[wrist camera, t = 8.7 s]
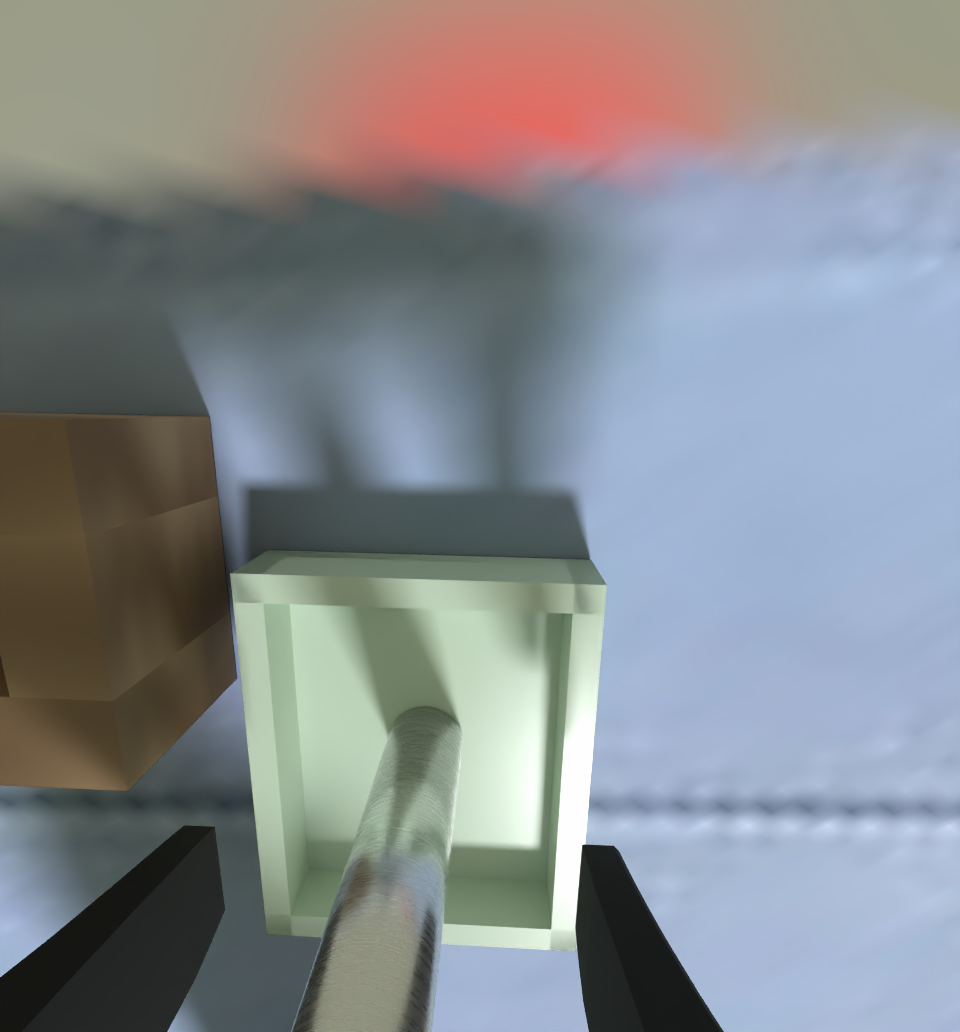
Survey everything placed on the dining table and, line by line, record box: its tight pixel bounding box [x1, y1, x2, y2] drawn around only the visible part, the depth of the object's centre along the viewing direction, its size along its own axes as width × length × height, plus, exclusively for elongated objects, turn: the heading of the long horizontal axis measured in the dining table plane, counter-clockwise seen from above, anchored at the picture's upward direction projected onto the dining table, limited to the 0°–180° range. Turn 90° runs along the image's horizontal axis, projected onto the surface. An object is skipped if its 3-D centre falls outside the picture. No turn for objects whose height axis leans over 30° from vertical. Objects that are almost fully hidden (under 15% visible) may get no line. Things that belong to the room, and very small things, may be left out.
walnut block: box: [0, 412, 237, 791], centre depth 11 cm, size 7×7×4 cm
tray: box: [230, 550, 607, 951], centre depth 12 cm, size 10×8×2 cm
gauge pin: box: [291, 706, 463, 1032], centre depth 9 cm, size 2×2×8 cm
